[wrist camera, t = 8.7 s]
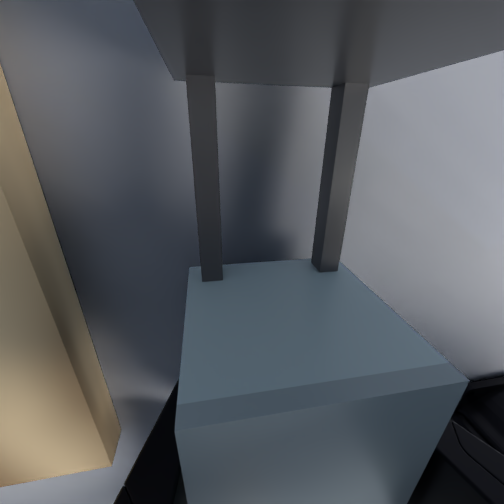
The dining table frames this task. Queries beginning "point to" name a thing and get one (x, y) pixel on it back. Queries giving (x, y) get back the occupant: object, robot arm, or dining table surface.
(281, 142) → the dining table surface
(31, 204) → the board
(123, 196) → the dining table surface
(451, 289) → the dining table surface
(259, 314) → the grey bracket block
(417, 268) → the dining table surface
